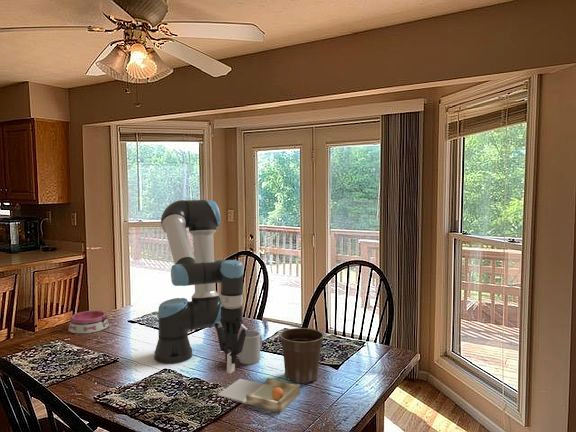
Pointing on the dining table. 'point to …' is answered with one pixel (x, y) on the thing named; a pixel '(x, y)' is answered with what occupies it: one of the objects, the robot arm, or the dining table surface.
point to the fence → (272, 404)
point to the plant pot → (301, 354)
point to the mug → (251, 348)
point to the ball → (277, 393)
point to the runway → (248, 391)
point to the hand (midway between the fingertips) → (230, 371)
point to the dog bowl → (88, 322)
